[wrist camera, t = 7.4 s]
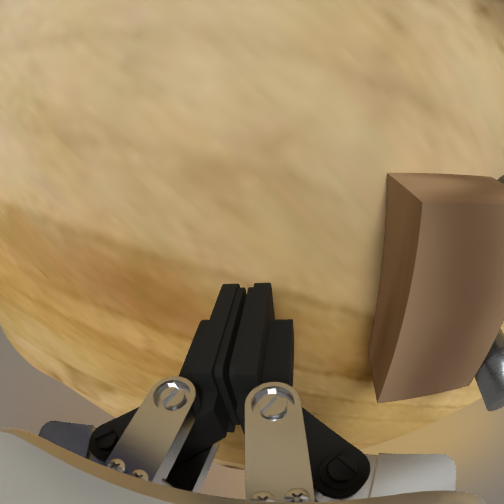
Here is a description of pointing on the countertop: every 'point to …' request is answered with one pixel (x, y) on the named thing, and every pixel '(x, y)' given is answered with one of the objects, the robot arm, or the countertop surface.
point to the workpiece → (437, 283)
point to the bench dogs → (493, 371)
